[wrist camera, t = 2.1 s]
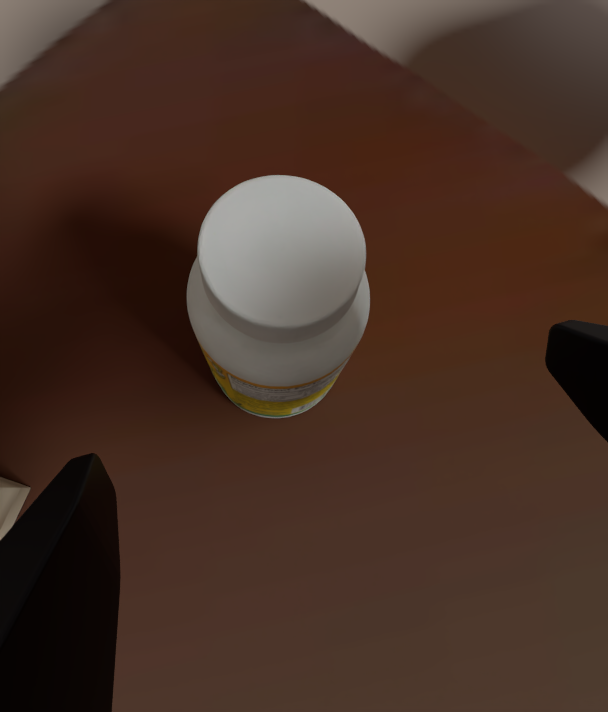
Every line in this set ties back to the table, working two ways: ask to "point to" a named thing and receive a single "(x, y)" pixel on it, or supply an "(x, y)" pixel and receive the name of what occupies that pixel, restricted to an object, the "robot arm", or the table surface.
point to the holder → (10, 503)
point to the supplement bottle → (278, 293)
